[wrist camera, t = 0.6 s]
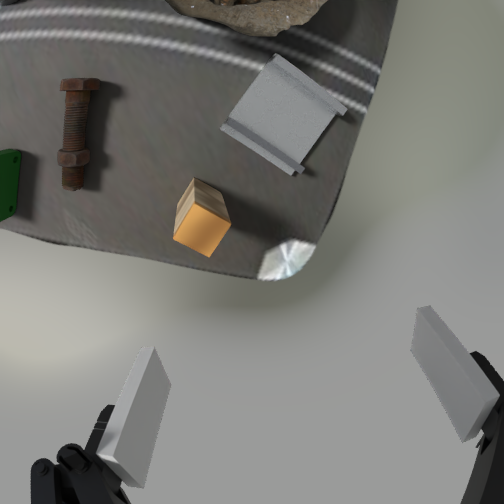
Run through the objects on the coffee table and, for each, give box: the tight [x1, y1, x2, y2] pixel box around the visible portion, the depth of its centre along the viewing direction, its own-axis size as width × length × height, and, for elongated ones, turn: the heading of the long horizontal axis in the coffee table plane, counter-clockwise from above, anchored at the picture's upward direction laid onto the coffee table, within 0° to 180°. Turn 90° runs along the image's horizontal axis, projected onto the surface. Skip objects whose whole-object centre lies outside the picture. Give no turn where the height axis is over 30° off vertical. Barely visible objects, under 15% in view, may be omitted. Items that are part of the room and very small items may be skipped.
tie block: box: [173, 177, 231, 257], centre depth 37 cm, size 4×4×12 cm
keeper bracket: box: [219, 53, 347, 175], centre depth 37 cm, size 12×13×4 cm
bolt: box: [57, 78, 100, 191], centre depth 33 cm, size 6×5×15 cm
